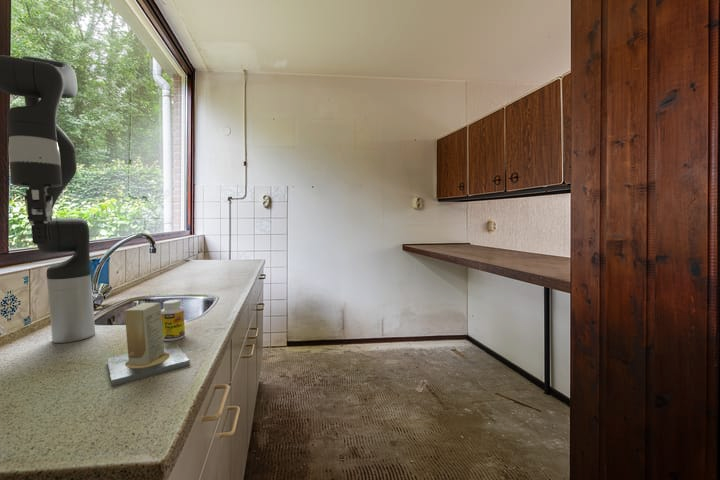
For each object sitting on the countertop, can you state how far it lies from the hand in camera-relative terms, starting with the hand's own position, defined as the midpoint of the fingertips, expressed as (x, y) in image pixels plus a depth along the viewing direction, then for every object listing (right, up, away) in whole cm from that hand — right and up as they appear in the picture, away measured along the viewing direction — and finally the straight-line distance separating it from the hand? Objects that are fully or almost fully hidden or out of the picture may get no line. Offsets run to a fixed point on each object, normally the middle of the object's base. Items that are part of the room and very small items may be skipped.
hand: (42, 242), depth 69 cm
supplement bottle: (+14, -27, +23) cm, 38 cm away
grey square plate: (+17, -27, +7) cm, 33 cm away
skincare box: (+17, -26, +6) cm, 32 cm away
